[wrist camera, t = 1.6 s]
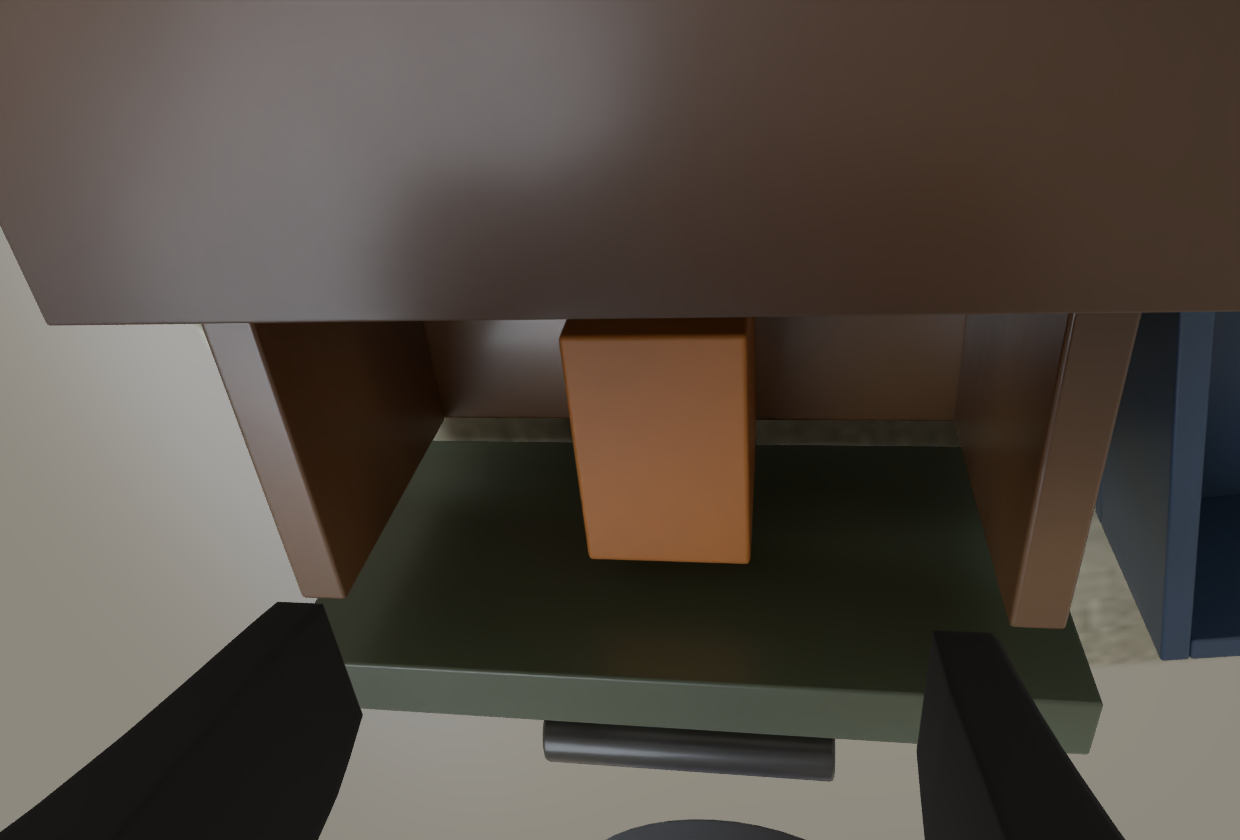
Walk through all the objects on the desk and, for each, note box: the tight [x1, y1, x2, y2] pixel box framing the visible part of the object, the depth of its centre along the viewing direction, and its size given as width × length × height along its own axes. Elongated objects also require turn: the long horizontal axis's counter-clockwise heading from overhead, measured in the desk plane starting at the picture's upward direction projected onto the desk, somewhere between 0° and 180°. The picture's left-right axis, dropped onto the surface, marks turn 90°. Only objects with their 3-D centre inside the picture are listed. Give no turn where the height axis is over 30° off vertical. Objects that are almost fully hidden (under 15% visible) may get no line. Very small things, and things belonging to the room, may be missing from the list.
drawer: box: [201, 313, 1142, 781], centre depth 16 cm, size 17×13×7 cm
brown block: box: [559, 317, 756, 564], centre depth 16 cm, size 4×3×4 cm, turn 5°
